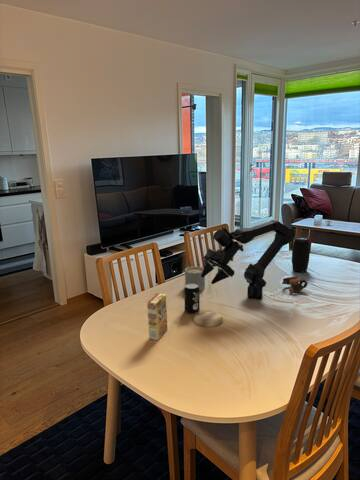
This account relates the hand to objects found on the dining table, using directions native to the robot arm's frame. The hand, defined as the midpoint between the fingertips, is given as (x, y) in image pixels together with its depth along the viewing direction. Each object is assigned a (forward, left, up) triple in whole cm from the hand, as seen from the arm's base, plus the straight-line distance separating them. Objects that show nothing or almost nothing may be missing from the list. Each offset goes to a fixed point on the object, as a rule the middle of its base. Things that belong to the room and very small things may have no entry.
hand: (206, 280), depth 158 cm
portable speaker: (-40, -61, -13) cm, 74 cm away
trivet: (-4, +12, -13) cm, 18 cm away
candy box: (+12, +28, -13) cm, 33 cm away
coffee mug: (+10, -22, -13) cm, 28 cm away
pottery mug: (-37, -31, -13) cm, 50 cm away
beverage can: (+5, +5, -13) cm, 15 cm away
